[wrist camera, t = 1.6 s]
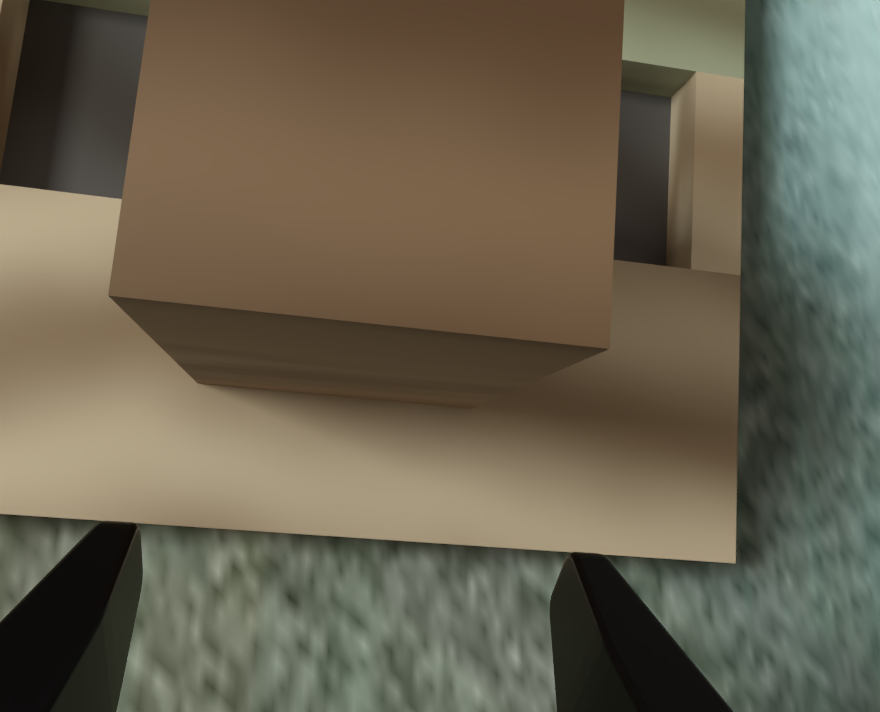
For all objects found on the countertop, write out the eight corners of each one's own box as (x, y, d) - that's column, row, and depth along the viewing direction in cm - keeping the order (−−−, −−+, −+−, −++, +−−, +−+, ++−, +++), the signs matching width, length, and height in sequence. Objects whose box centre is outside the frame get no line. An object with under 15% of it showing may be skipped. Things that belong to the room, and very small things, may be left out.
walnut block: (472, 408, 22) (609, 349, 12) (197, 383, 21) (107, 295, 11) (489, 156, 23) (627, -83, 13) (229, 120, 22) (174, -169, 12)
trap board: (700, 556, 24) (765, 569, 21) (-115, 501, 21) (-195, 504, 18) (715, -61, 28) (774, -138, 24) (10, -193, 24) (-37, -303, 21)
